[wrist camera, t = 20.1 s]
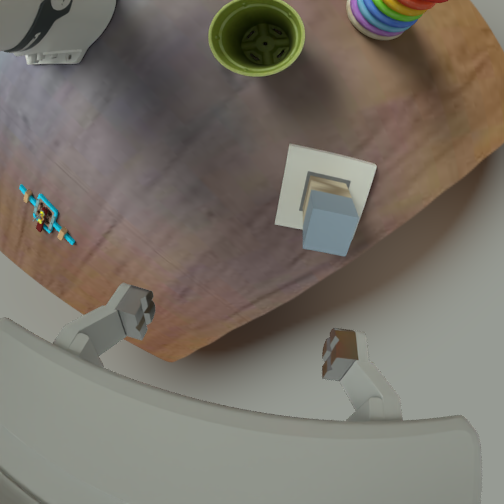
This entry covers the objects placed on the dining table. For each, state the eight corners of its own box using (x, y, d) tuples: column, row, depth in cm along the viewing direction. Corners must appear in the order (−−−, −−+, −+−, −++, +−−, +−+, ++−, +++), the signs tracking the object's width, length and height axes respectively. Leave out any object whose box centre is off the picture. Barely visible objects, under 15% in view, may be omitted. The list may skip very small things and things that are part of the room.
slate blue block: (302, 225, 35) (302, 248, 31) (311, 189, 32) (312, 208, 28) (340, 233, 34) (345, 256, 30) (351, 198, 31) (359, 218, 27)
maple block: (302, 208, 39) (302, 225, 35) (310, 175, 36) (311, 189, 32) (336, 215, 38) (340, 233, 34) (346, 183, 35) (352, 198, 31)
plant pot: (274, 91, 31) (267, 94, 24) (214, 54, 29) (190, 48, 22) (318, 39, 26) (324, 26, 19) (255, 1, 24) (243, -19, 17)
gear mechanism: (69, 253, 55) (80, 231, 50) (56, 267, 50) (65, 245, 46) (19, 199, 48) (25, 172, 44) (4, 210, 44) (9, 183, 39)
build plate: (275, 220, 42) (274, 224, 41) (289, 143, 35) (289, 145, 34) (351, 236, 41) (352, 240, 40) (374, 163, 34) (377, 166, 33)
